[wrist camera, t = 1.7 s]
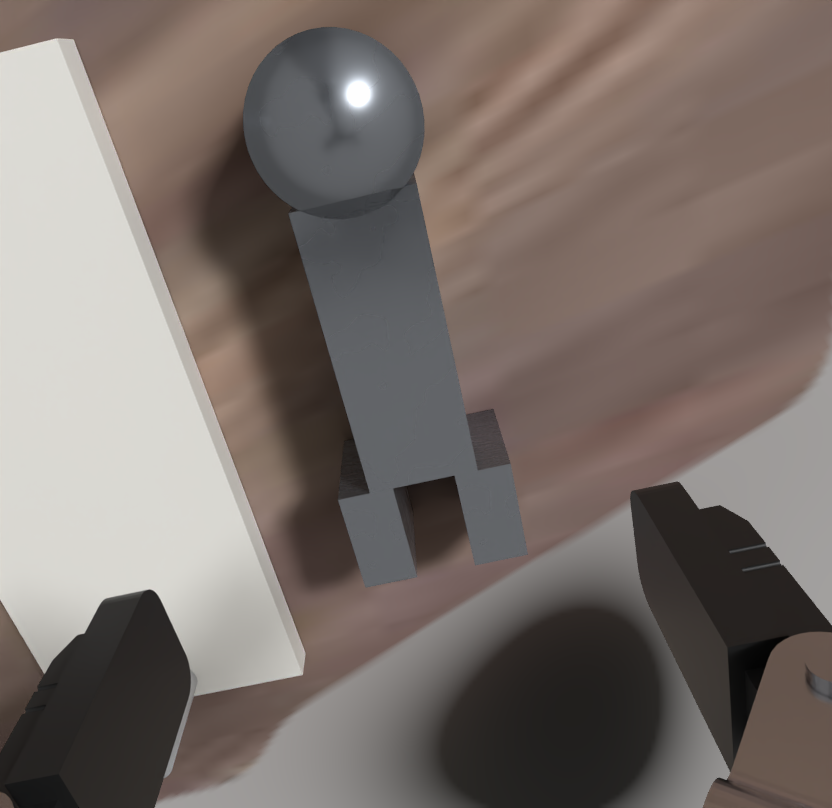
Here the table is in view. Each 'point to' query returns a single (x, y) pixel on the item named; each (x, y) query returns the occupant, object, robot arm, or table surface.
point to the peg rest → (111, 408)
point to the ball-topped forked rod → (376, 292)
